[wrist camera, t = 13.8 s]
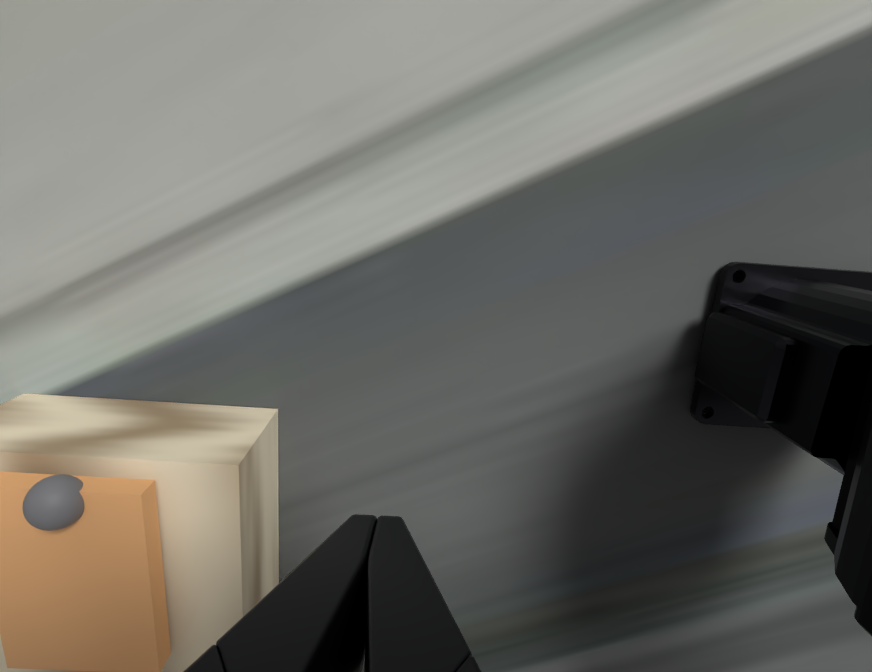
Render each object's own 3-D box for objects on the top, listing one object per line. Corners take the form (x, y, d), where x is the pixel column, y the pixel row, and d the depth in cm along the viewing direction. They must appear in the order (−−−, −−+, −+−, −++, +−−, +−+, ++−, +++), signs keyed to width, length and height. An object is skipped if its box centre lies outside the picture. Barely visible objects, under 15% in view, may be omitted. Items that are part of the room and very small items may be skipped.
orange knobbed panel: (171, 653, 18) (147, 697, 16) (25, 647, 18) (-13, 691, 16) (153, 468, 16) (124, 499, 14) (-12, 459, 16) (-60, 489, 14)
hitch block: (278, 409, 20) (238, 465, 16) (279, 713, 25) (248, 824, 20) (23, 393, 20) (-88, 446, 16) (68, 706, 24) (-10, 816, 20)
